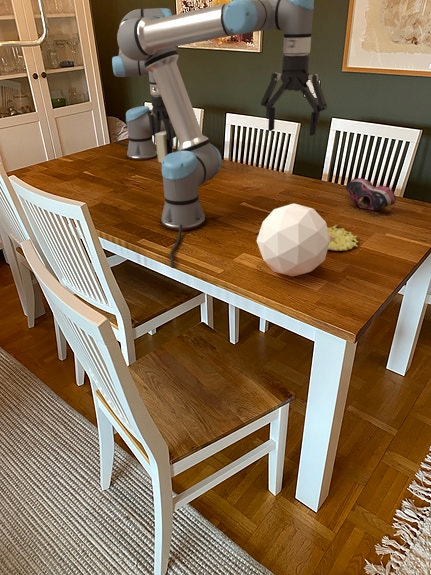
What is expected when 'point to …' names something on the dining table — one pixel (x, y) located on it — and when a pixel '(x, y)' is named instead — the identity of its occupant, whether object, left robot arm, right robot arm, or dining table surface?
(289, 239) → the sphere
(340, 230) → the decorative object
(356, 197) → the athletic shoe
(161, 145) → the cosmetic box
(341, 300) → the dining table surface
